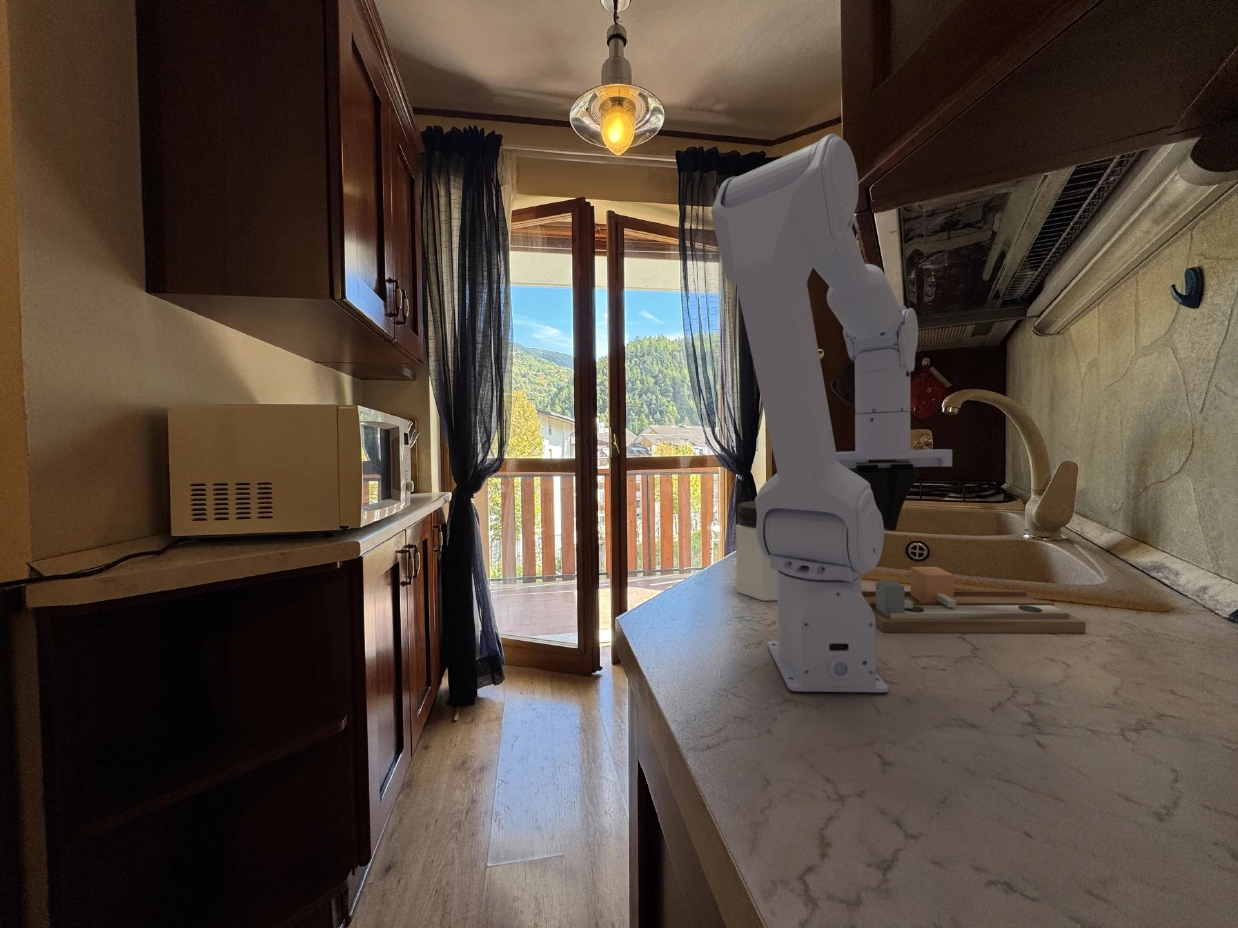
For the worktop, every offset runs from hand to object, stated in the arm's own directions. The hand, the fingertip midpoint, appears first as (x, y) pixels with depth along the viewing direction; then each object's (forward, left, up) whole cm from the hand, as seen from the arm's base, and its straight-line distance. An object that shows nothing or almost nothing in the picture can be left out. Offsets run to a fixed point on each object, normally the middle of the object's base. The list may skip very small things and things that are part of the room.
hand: (882, 529), depth 59 cm
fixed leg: (-4, 0, -9) cm, 10 cm away
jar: (+8, +12, -10) cm, 17 cm away
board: (-2, -7, -10) cm, 13 cm away
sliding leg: (-1, -6, -9) cm, 10 cm away
